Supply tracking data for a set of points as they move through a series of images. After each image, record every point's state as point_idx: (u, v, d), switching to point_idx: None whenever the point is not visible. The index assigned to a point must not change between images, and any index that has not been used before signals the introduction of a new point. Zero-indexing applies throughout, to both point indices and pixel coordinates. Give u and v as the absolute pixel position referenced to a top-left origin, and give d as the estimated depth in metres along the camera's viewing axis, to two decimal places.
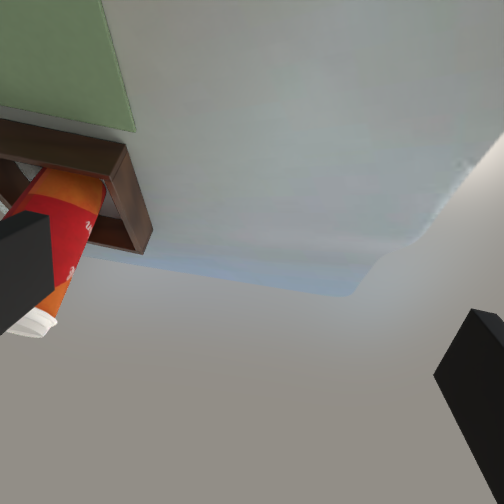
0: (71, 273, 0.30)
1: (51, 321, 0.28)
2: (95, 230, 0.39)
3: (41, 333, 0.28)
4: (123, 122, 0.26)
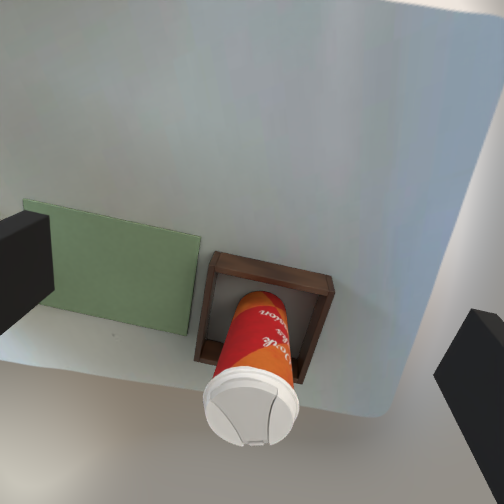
0: (268, 342, 0.31)
1: (265, 374, 0.27)
2: (312, 327, 0.39)
3: (267, 390, 0.27)
4: (192, 241, 0.38)
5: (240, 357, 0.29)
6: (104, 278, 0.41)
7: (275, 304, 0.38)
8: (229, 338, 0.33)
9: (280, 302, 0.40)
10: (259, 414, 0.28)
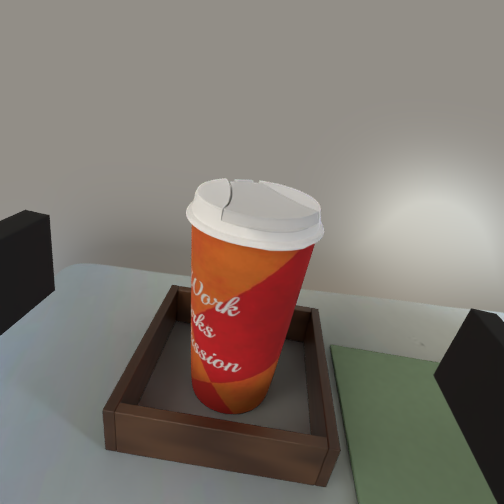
0: (229, 306, 0.19)
1: (241, 238, 0.17)
2: (151, 356, 0.25)
3: (237, 214, 0.17)
4: (373, 503, 0.20)
5: (277, 273, 0.18)
6: None
7: (210, 388, 0.23)
8: (288, 318, 0.21)
9: (201, 394, 0.24)
10: (245, 197, 0.19)
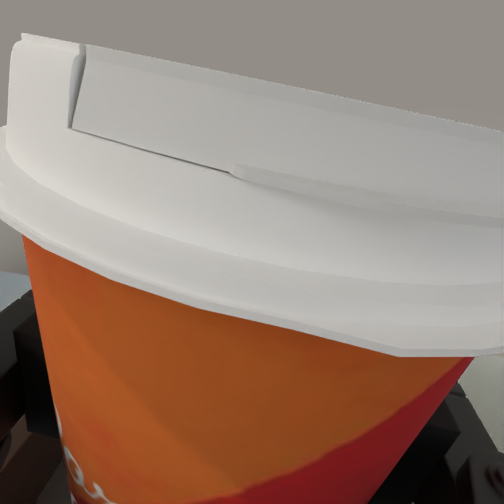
0: None
1: (189, 253, 0.02)
2: None
3: (174, 79, 0.02)
4: None
5: (380, 433, 0.04)
6: None
7: None
8: None
9: None
10: None
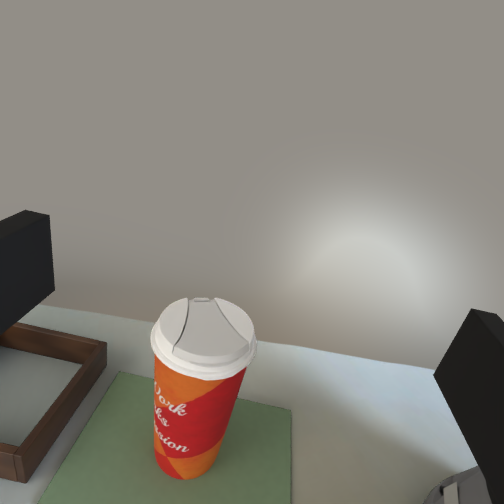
0: (178, 409, 0.25)
1: (185, 369, 0.23)
2: None
3: (184, 351, 0.23)
4: (52, 497, 0.27)
5: (214, 390, 0.24)
6: None
7: (166, 460, 0.29)
8: (227, 413, 0.27)
9: (159, 462, 0.30)
10: (195, 326, 0.25)
